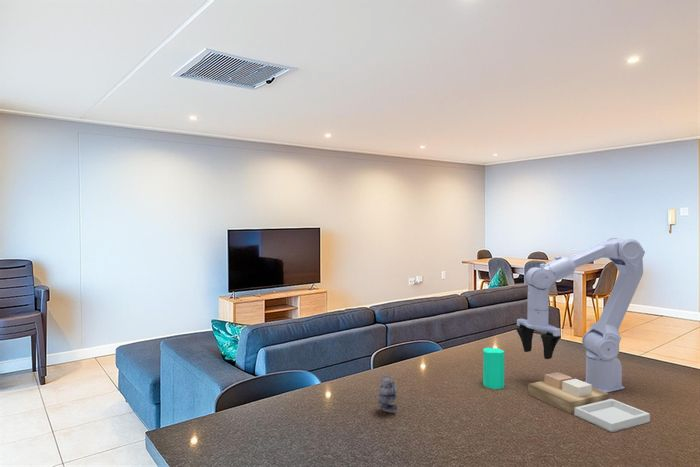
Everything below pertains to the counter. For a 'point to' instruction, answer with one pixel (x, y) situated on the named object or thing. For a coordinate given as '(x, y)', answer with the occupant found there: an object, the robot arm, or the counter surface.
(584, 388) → the cream tile
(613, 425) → the tray
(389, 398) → the grey stone figurine
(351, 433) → the counter surface
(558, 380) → the terracotta tile
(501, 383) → the candle
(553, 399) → the board
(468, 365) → the counter surface
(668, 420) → the counter surface
